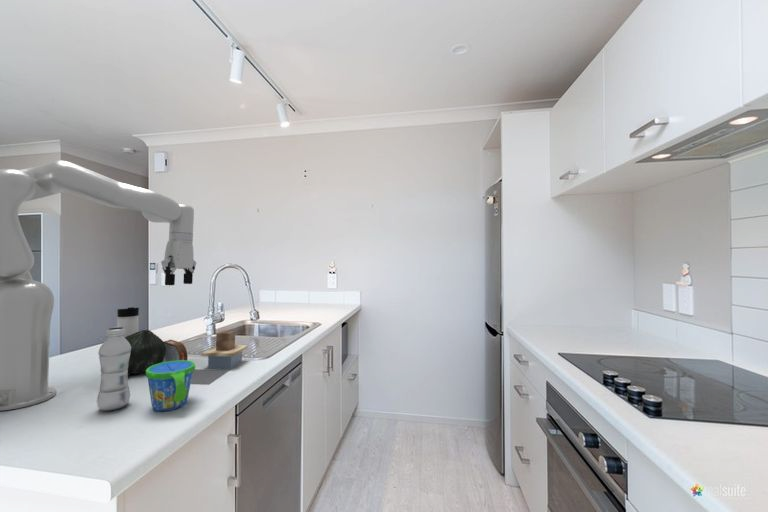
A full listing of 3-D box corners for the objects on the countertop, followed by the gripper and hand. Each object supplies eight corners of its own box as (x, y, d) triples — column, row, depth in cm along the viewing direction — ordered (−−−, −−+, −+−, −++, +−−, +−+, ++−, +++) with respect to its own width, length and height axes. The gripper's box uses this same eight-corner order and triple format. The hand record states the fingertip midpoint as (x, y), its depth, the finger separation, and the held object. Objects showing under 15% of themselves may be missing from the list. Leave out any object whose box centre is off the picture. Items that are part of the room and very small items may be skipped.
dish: (231, 369, 111) (231, 355, 111) (208, 369, 111) (208, 354, 111) (241, 362, 119) (241, 348, 119) (220, 362, 119) (220, 348, 119)
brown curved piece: (188, 367, 113) (188, 343, 113) (178, 370, 110) (179, 345, 110) (167, 360, 121) (167, 337, 121) (157, 362, 118) (158, 339, 118)
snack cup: (200, 410, 81) (201, 369, 81) (149, 424, 74) (150, 379, 74) (186, 391, 92) (187, 355, 93) (141, 401, 85) (142, 362, 85)
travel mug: (118, 365, 114) (120, 308, 115) (113, 361, 118) (115, 306, 119) (140, 361, 119) (141, 306, 120) (134, 357, 123) (135, 305, 124)
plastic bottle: (102, 416, 77) (105, 332, 77) (92, 409, 80) (94, 328, 81) (134, 406, 82) (137, 327, 83) (123, 400, 86) (125, 324, 86)
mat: (208, 385, 96) (209, 384, 97) (165, 385, 97) (166, 383, 97) (230, 371, 110) (230, 370, 110) (192, 370, 110) (192, 369, 110)
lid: (201, 355, 110) (201, 335, 110) (218, 347, 121) (218, 328, 121) (233, 356, 109) (233, 335, 110) (247, 347, 120) (248, 329, 121)
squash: (109, 353, 110) (112, 324, 103) (162, 347, 120) (168, 321, 113) (107, 390, 102) (110, 362, 95) (164, 381, 111) (171, 355, 104)
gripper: (186, 240, 129) (184, 283, 128) (153, 235, 111) (151, 285, 111) (205, 240, 128) (203, 283, 128) (174, 236, 111) (172, 286, 110)
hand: (179, 284), depth 119 cm, fingers open, 9 cm apart
